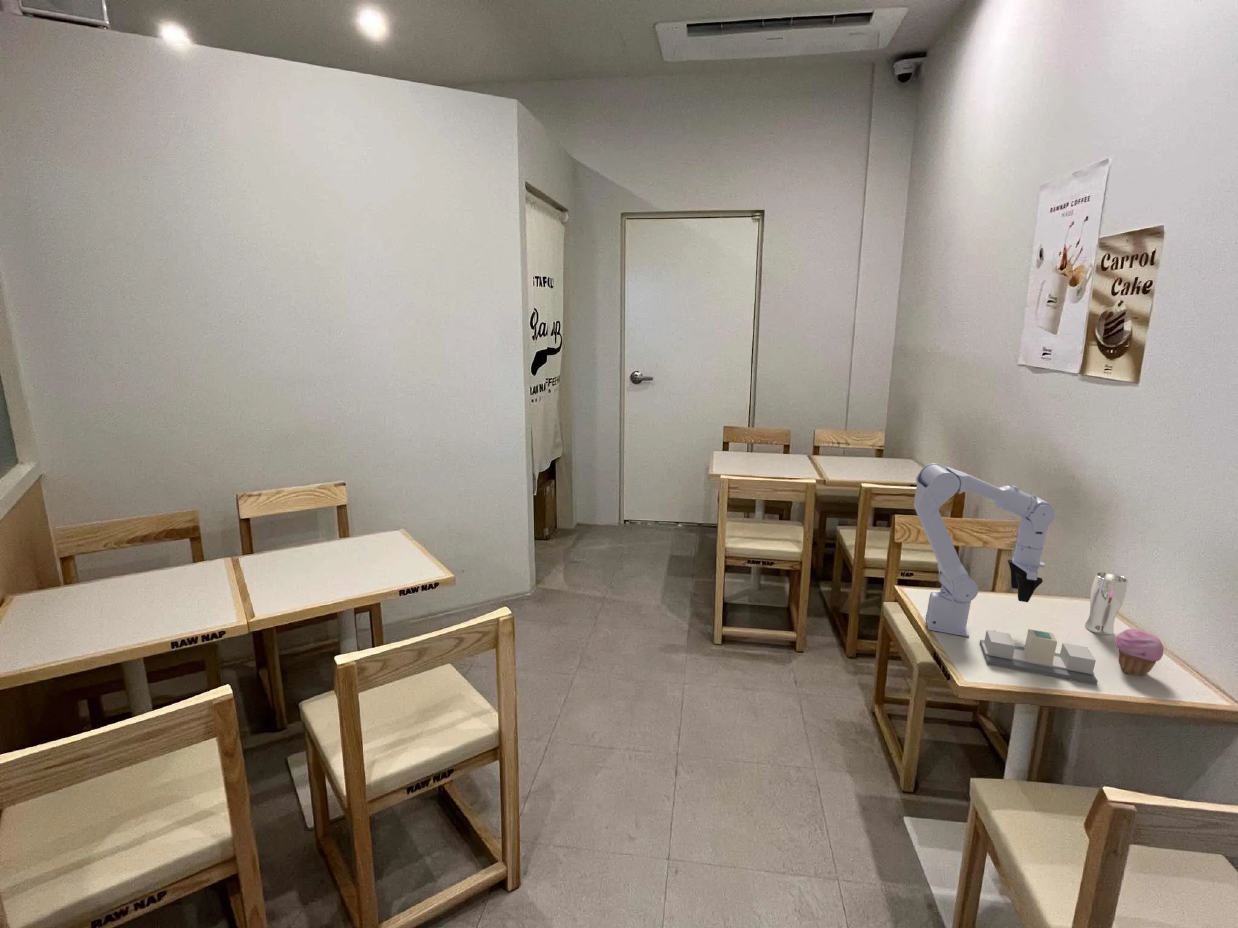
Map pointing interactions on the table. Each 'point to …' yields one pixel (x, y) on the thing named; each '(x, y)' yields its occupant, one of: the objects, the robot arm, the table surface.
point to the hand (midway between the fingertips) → (1019, 594)
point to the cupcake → (1138, 651)
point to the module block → (1040, 646)
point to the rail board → (1065, 665)
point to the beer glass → (1105, 602)
